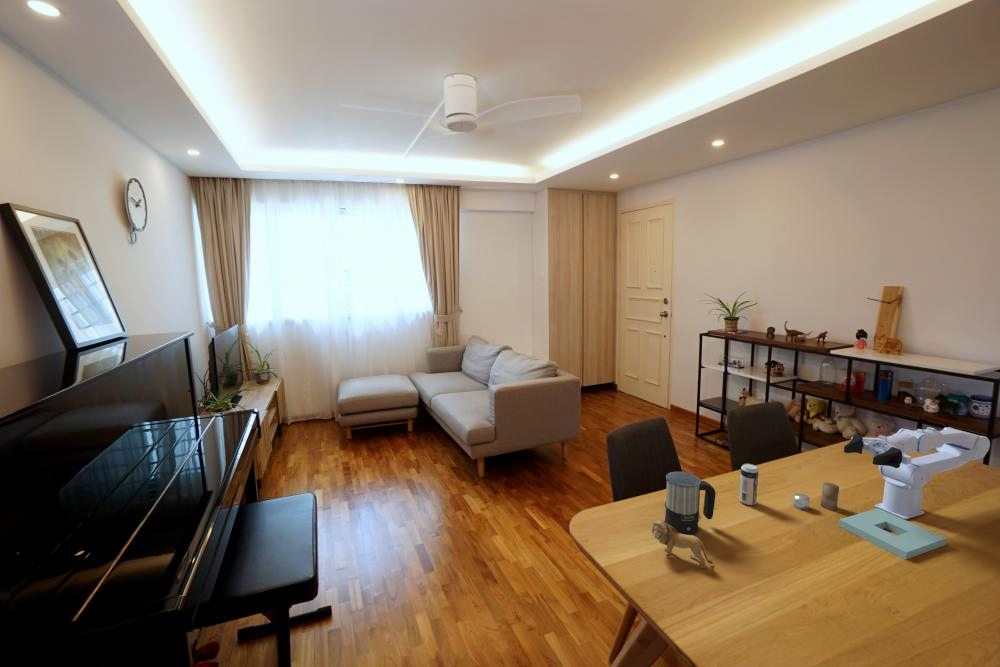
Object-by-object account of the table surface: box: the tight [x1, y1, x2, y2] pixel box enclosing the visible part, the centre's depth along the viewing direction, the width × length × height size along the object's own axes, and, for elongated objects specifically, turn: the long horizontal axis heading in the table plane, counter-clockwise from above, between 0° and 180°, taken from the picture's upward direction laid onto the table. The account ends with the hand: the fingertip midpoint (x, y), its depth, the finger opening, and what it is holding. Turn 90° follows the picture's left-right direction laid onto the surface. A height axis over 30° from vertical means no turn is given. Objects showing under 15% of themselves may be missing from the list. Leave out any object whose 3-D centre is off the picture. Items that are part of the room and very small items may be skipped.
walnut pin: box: [820, 482, 840, 511], centre depth 136 cm, size 4×4×7 cm
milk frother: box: [663, 471, 717, 536], centre depth 130 cm, size 14×16×15 cm
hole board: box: [838, 507, 947, 560], centre depth 122 cm, size 17×16×2 cm
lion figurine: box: [650, 520, 714, 569], centre depth 113 cm, size 15×5×9 cm, turn 69°
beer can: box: [738, 463, 760, 506], centre depth 139 cm, size 5×5×12 cm
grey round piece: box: [792, 492, 811, 511], centre depth 137 cm, size 4×4×4 cm
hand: (859, 455), depth 125 cm, fingers open, 7 cm apart
